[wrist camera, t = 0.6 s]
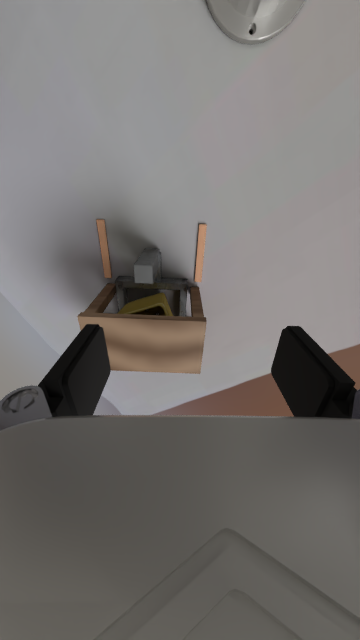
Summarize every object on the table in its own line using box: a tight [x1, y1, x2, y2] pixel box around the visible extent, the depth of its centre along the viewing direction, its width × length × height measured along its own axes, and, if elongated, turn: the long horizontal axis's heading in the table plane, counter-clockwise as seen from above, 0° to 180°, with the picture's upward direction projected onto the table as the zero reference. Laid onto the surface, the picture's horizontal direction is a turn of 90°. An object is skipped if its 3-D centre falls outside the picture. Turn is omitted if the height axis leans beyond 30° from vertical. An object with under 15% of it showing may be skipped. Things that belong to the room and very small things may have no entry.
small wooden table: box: [77, 283, 206, 374], centre depth 38 cm, size 10×18×13 cm, turn 88°
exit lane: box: [97, 219, 207, 282], centre depth 38 cm, size 10×18×1 cm, turn 88°
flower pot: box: [117, 292, 173, 316], centre depth 40 cm, size 9×9×9 cm
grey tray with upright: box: [115, 248, 188, 317], centre depth 37 cm, size 18×13×10 cm
